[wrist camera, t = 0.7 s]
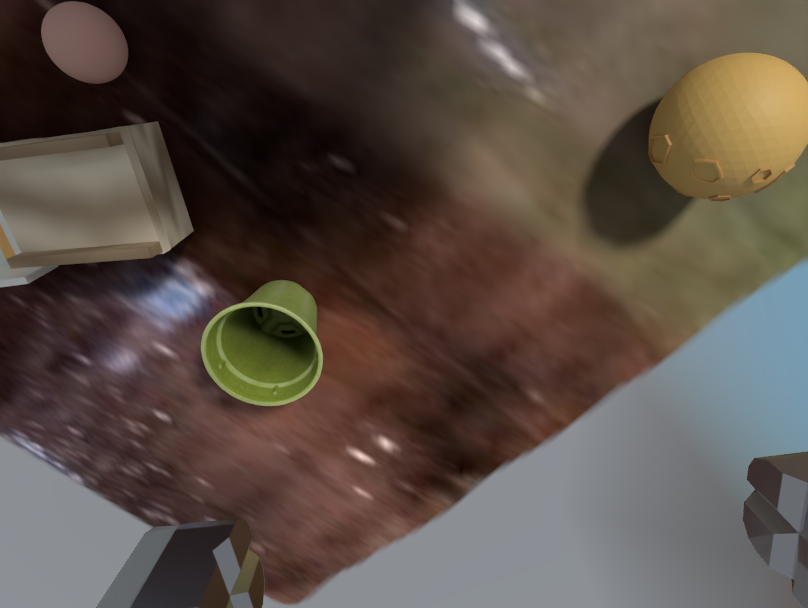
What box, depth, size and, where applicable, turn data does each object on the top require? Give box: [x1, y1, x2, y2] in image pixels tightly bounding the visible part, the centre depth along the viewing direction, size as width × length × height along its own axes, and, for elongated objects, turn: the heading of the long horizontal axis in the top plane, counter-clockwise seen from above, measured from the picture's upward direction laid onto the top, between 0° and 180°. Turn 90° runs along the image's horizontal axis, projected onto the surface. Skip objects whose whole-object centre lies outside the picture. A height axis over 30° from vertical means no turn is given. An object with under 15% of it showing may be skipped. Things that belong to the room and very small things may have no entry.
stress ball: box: [648, 53, 808, 201], centre depth 34 cm, size 10×10×10 cm
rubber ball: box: [41, 1, 128, 84], centre depth 33 cm, size 5×5×5 cm
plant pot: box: [201, 280, 323, 406], centre depth 41 cm, size 9×9×9 cm
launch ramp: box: [0, 121, 194, 269], centre depth 36 cm, size 9×12×7 cm
